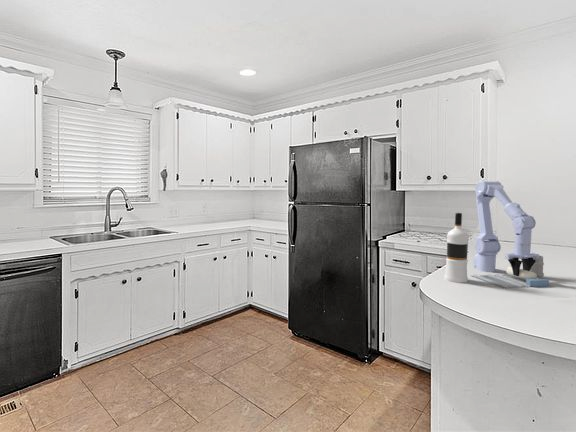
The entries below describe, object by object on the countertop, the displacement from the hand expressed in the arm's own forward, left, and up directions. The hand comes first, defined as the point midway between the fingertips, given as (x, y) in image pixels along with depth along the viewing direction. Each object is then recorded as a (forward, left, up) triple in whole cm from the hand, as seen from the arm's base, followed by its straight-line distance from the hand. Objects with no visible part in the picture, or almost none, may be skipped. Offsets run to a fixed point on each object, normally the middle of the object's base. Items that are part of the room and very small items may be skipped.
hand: (520, 275), depth 150 cm
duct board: (0, -6, -3) cm, 6 cm away
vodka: (-4, -28, -3) cm, 28 cm away
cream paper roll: (0, 0, -1) cm, 1 cm away
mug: (-7, +12, -3) cm, 15 cm away
